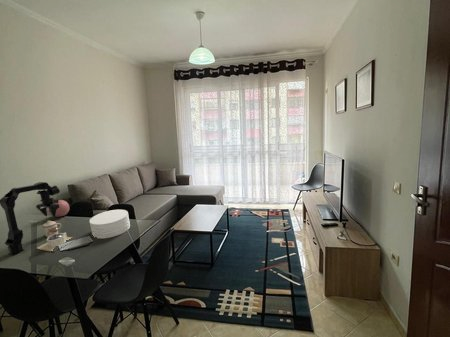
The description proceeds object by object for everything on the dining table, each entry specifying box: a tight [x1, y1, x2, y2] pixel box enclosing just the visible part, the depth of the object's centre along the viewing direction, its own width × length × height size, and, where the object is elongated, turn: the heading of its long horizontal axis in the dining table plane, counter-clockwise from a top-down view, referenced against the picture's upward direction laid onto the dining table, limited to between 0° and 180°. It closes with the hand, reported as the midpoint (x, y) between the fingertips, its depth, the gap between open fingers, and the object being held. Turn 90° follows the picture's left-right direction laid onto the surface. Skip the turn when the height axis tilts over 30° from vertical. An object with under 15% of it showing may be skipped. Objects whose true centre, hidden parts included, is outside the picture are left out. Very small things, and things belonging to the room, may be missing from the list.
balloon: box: [46, 199, 70, 218], centre depth 239 cm, size 15×20×15 cm
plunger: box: [49, 226, 63, 240], centre depth 185 cm, size 8×8×6 cm
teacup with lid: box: [42, 220, 62, 238], centre depth 204 cm, size 12×9×12 cm
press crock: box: [36, 232, 72, 252], centre depth 187 cm, size 18×18×6 cm
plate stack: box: [89, 209, 131, 239], centre depth 203 cm, size 28×28×12 cm
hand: (50, 216), depth 202 cm, fingers open, 9 cm apart
